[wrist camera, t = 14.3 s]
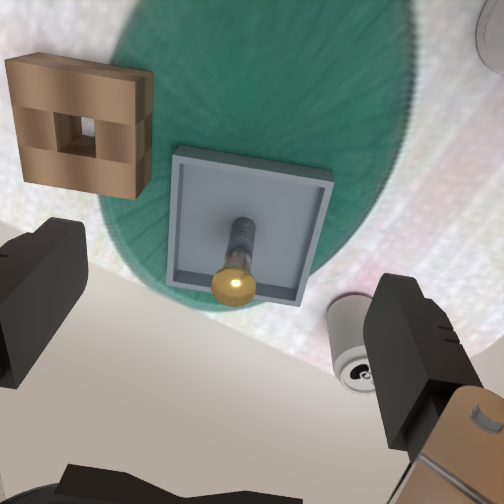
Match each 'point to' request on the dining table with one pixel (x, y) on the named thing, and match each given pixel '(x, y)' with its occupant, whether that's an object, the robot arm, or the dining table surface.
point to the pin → (236, 266)
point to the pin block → (69, 124)
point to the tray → (253, 207)
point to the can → (350, 344)
